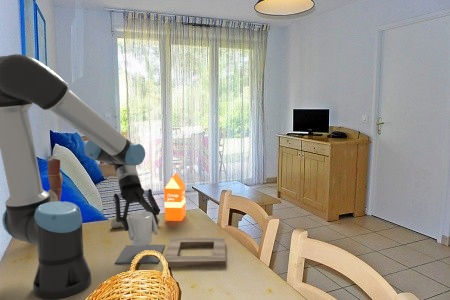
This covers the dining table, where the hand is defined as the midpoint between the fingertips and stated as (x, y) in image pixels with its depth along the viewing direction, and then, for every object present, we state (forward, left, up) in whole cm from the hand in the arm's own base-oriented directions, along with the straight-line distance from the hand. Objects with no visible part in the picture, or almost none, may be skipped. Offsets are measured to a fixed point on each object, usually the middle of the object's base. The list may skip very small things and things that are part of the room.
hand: (144, 235), depth 117 cm
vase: (+28, +42, -8) cm, 51 cm away
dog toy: (+31, +10, -8) cm, 33 cm away
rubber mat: (+3, +2, -8) cm, 8 cm away
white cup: (+3, +2, -4) cm, 5 cm away
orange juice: (+43, -5, -8) cm, 44 cm away
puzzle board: (+3, -17, -8) cm, 19 cm away
